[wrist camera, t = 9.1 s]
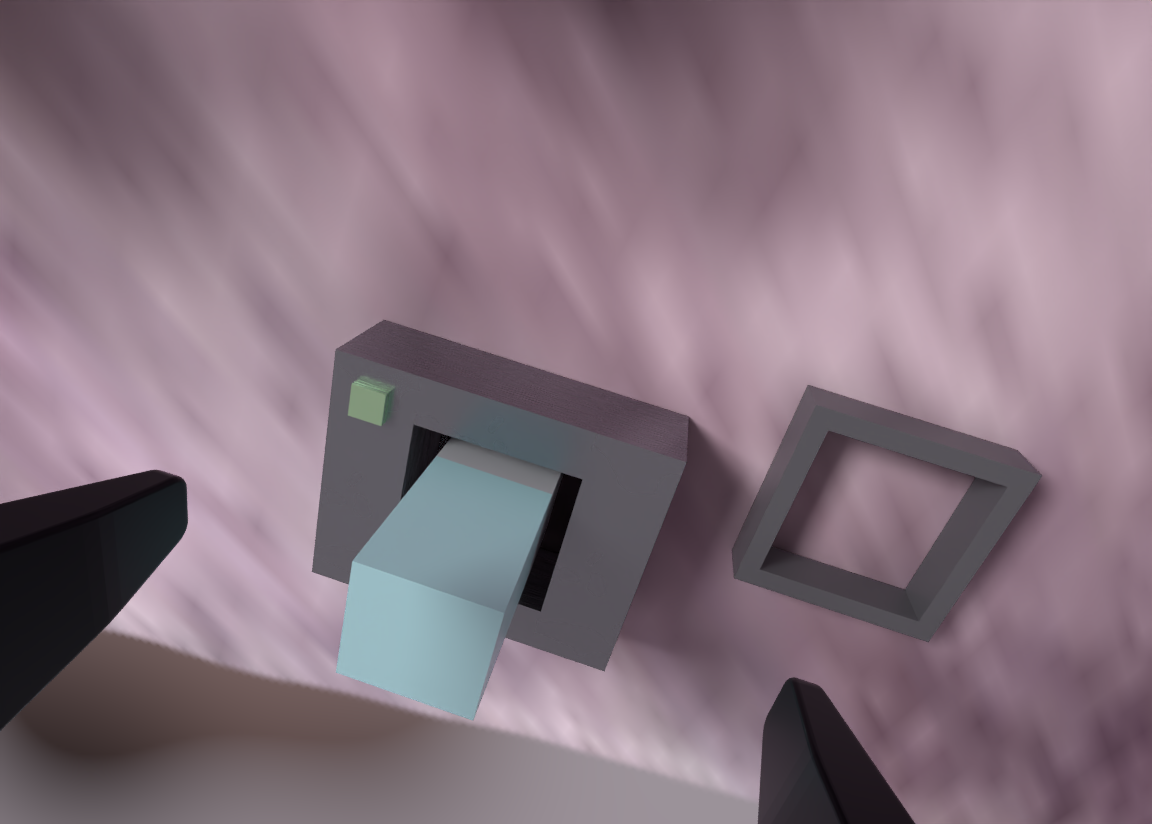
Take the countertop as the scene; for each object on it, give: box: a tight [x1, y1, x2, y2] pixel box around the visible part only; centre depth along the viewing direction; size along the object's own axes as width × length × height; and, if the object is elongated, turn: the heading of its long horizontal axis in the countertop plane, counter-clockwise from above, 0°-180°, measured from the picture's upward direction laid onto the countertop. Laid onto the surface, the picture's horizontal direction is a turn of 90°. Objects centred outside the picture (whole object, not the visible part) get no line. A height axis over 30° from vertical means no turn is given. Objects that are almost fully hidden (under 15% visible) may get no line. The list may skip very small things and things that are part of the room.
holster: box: [732, 385, 1042, 642], centre depth 20 cm, size 6×6×2 cm
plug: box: [336, 437, 563, 720], centre depth 18 cm, size 4×4×8 cm
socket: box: [312, 320, 689, 671], centre depth 21 cm, size 10×8×3 cm
